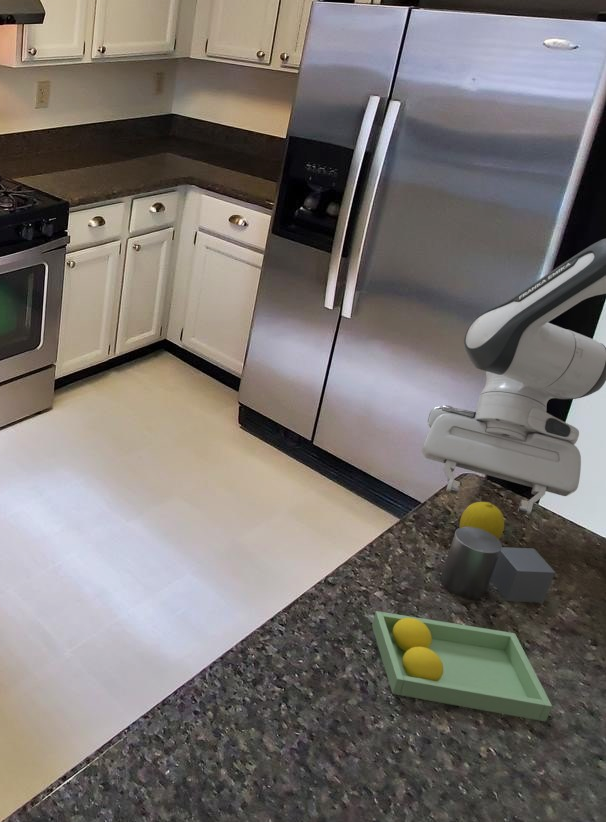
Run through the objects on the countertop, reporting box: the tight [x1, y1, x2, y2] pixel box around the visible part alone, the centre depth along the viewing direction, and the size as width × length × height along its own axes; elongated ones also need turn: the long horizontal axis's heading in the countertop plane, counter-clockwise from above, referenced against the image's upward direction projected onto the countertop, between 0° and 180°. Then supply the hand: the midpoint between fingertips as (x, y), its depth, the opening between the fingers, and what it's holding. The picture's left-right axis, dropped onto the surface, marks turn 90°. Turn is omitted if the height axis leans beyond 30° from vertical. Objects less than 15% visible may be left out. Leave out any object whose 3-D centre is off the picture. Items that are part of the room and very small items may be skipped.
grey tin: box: [439, 527, 503, 601], centre depth 113 cm, size 6×6×9 cm
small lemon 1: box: [393, 618, 432, 651], centre depth 103 cm, size 4×4×4 cm
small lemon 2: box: [402, 647, 443, 681], centre depth 99 cm, size 4×4×4 cm
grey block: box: [490, 546, 556, 606], centre depth 113 cm, size 5×5×6 cm
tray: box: [371, 610, 553, 722], centre depth 101 cm, size 17×12×3 cm
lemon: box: [459, 501, 505, 541], centre depth 122 cm, size 6×6×8 cm
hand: (487, 502), depth 122 cm, fingers open, 8 cm apart
